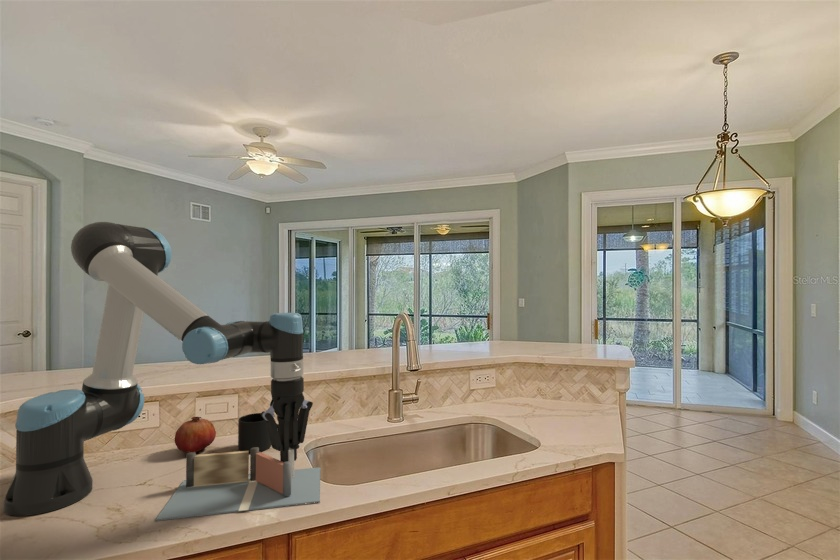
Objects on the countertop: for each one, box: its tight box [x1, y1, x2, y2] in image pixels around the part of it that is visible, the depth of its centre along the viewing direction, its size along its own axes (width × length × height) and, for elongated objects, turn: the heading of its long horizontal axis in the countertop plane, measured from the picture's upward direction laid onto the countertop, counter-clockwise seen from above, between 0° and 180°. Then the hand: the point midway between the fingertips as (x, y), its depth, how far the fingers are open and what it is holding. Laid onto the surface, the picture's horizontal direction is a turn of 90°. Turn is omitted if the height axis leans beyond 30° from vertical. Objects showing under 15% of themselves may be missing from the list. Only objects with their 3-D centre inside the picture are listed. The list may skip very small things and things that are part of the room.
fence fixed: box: [185, 447, 259, 487], centre depth 103 cm, size 16×2×8 cm, turn 103°
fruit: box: [174, 416, 217, 453], centre depth 124 cm, size 11×10×10 cm
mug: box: [237, 412, 279, 454], centre depth 127 cm, size 9×12×9 cm
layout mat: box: [155, 466, 321, 522], centre depth 99 cm, size 33×18×1 cm, turn 103°
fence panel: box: [256, 452, 291, 496], centre depth 100 cm, size 13×2×7 cm, turn 53°
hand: (288, 475), depth 100 cm, fingers closed
